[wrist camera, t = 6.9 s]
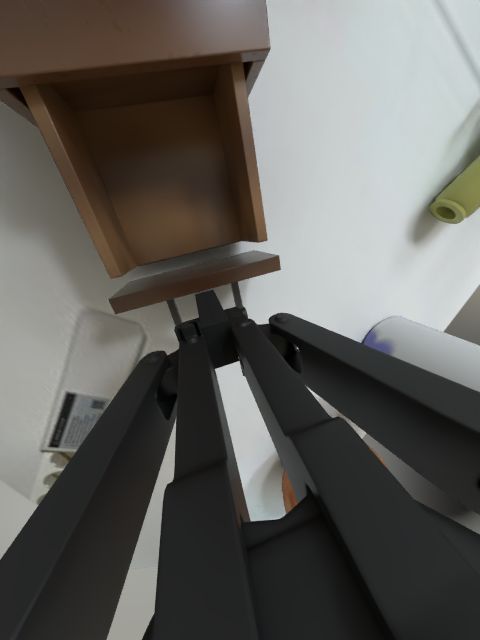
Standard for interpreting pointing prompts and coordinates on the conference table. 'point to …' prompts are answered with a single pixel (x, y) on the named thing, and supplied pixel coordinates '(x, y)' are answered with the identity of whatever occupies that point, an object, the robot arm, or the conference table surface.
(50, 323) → the conference table surface
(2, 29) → the cabinet
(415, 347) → the container
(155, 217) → the drawer
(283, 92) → the conference table surface
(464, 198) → the cannon
